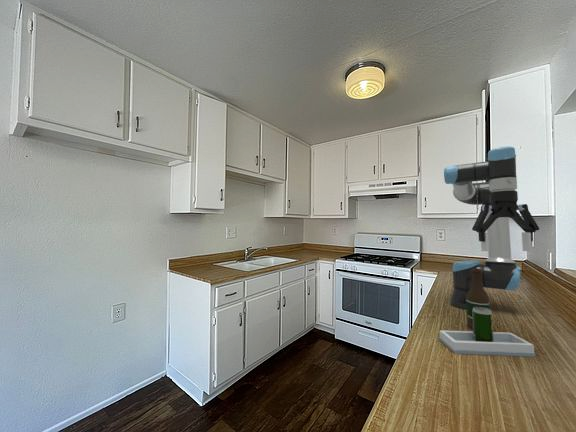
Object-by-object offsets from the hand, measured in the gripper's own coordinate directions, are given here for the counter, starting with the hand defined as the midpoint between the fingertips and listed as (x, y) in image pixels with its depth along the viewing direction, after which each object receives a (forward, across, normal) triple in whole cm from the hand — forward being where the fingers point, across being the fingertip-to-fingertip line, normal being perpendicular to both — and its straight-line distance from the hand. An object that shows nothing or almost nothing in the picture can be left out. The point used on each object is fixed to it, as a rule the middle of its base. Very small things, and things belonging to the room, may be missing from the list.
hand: (505, 251), depth 87 cm
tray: (+33, -10, -2) cm, 34 cm away
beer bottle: (+33, -1, +15) cm, 36 cm away
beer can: (+32, -10, -2) cm, 33 cm away
